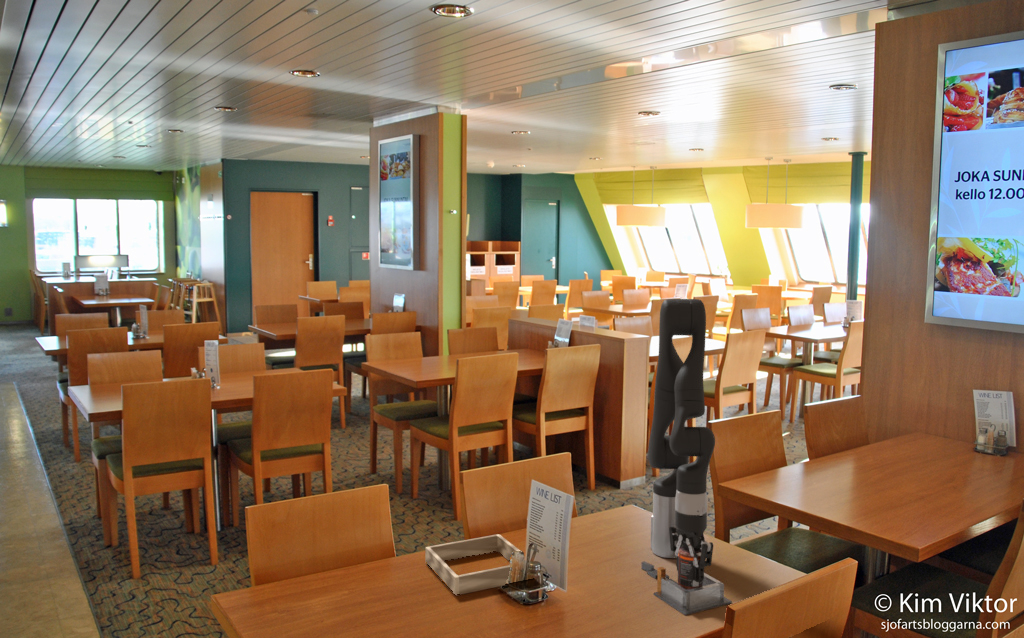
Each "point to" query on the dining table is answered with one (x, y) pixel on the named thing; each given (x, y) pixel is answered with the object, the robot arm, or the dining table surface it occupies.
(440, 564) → the frame
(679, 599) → the keeper
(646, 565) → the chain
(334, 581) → the dining table surface
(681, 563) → the supplement bottle
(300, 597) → the dining table surface
